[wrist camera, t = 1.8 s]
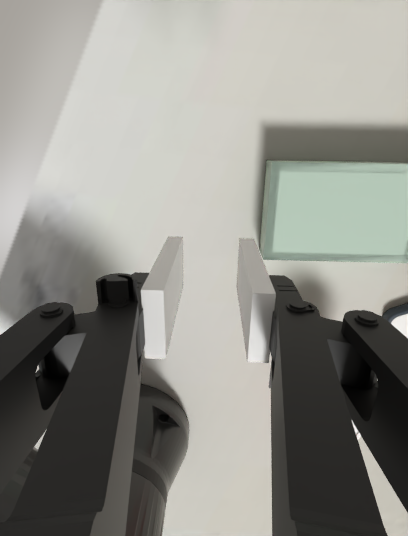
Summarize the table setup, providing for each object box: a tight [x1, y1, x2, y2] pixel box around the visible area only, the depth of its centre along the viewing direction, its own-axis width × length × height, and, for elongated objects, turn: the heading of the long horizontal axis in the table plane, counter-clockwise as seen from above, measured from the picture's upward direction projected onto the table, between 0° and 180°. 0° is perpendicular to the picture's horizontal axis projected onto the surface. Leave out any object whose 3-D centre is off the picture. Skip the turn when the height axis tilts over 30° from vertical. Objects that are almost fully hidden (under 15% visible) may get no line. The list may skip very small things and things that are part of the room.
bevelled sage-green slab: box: [260, 160, 408, 263], centre depth 31 cm, size 14×9×3 cm, turn 89°
